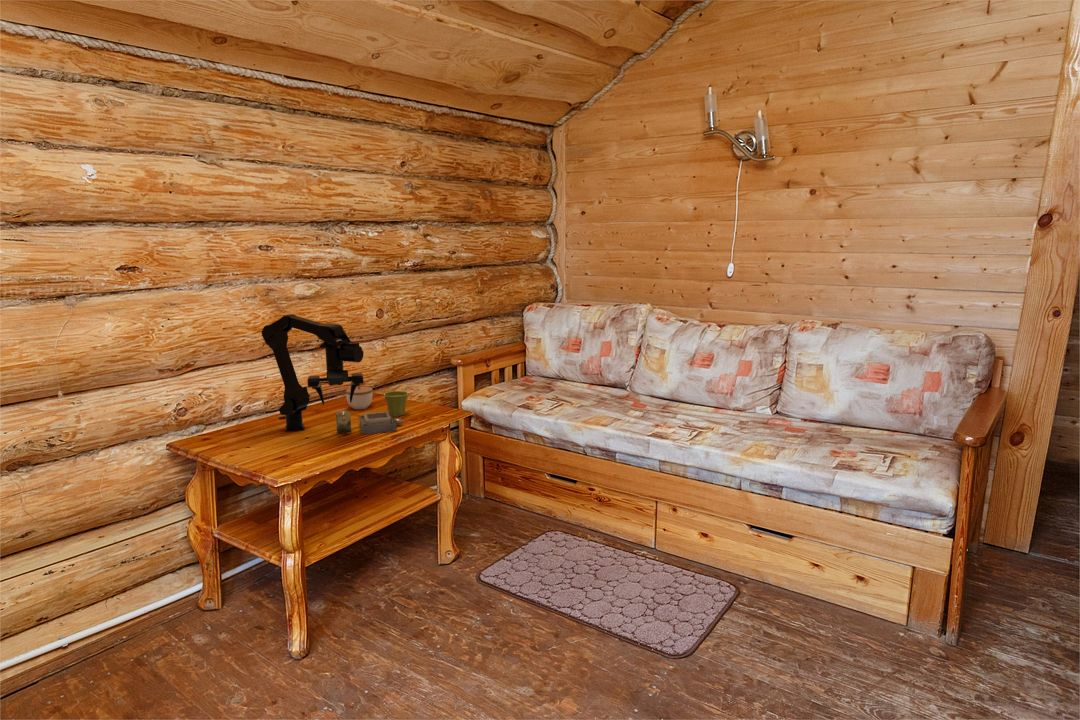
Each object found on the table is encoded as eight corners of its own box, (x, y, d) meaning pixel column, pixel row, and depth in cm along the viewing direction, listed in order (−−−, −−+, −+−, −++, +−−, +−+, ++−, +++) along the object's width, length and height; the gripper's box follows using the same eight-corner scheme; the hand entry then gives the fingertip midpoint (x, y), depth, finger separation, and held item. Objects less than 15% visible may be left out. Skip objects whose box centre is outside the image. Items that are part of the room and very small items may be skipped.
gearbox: (359, 423, 243) (358, 412, 242) (399, 420, 248) (399, 408, 247) (362, 434, 230) (361, 422, 229) (404, 430, 235) (404, 418, 234)
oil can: (336, 430, 235) (335, 410, 233) (350, 428, 237) (349, 409, 235) (337, 435, 229) (336, 415, 227) (352, 434, 230) (350, 414, 229)
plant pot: (385, 412, 259) (384, 391, 257) (409, 410, 261) (408, 390, 259) (384, 418, 250) (383, 397, 248) (409, 417, 252) (408, 395, 250)
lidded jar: (348, 404, 270) (346, 383, 268) (374, 403, 272) (373, 382, 270) (345, 411, 260) (343, 389, 258) (372, 410, 261) (371, 388, 260)
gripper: (305, 366, 215) (308, 411, 218) (362, 363, 221) (365, 407, 224) (306, 360, 226) (309, 403, 229) (361, 357, 231) (363, 399, 234)
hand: (337, 403), depth 229 cm, fingers open, 9 cm apart
